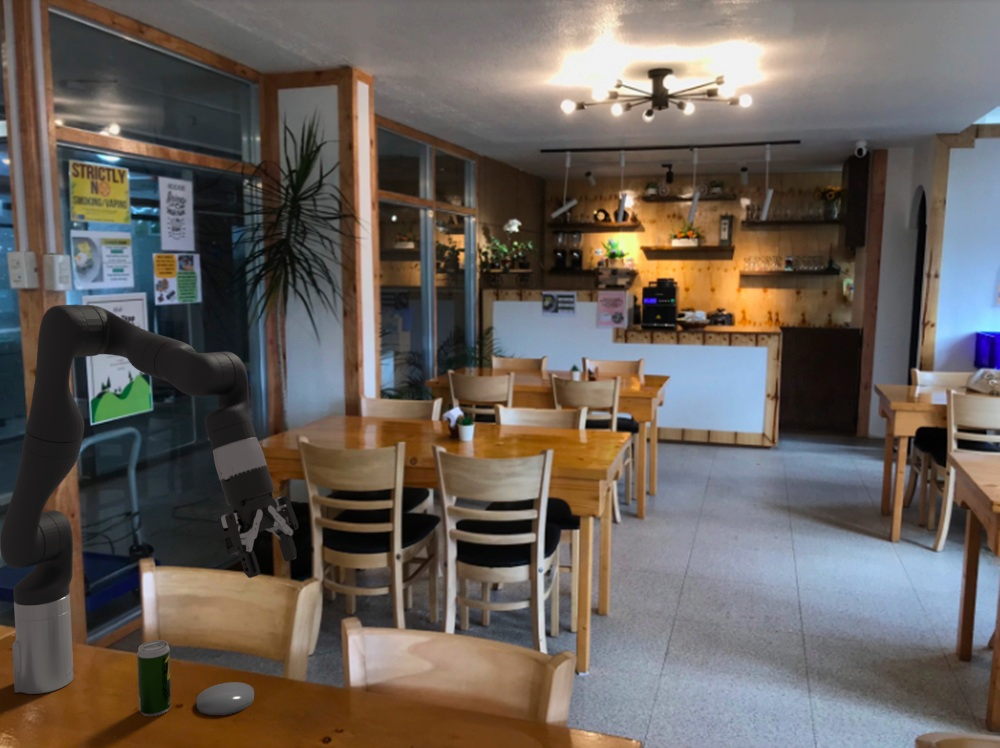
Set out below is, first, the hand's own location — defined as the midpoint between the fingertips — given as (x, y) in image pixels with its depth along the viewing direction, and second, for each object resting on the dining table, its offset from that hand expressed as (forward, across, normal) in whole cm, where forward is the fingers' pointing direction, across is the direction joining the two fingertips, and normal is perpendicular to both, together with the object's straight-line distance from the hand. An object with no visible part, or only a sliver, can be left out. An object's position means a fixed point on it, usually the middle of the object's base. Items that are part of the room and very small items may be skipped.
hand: (273, 568), depth 125 cm
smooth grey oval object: (+22, -10, -30) cm, 39 cm away
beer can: (+19, -2, -39) cm, 43 cm away
